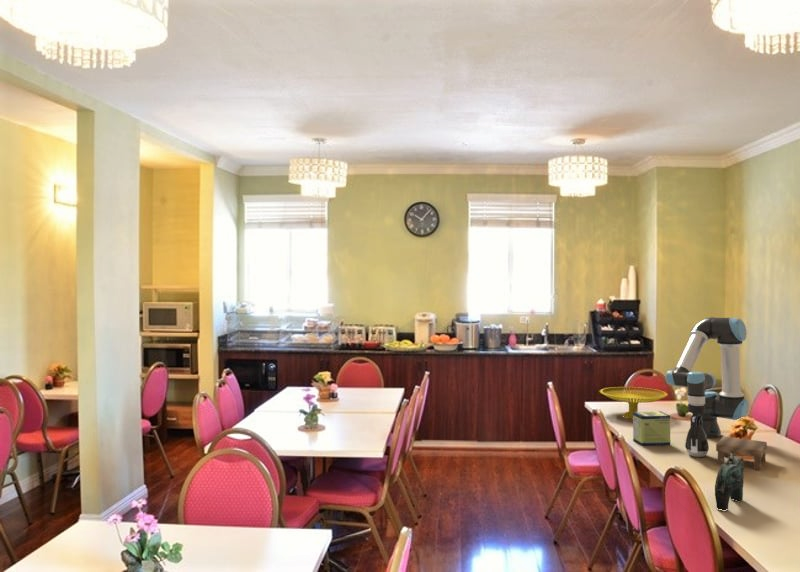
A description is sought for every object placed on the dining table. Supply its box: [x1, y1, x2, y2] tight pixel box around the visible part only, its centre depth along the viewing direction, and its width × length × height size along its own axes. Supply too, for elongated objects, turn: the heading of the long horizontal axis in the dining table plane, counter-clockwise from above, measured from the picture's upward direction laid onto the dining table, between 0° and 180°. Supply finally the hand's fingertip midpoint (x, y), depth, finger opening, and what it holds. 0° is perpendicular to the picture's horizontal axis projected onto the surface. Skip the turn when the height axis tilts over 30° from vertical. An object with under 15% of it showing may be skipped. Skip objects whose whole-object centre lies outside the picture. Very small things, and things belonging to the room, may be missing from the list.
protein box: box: [632, 410, 671, 447], centre depth 310 cm, size 10×16×16 cm
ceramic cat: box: [714, 451, 745, 510], centre depth 224 cm, size 20×6×20 cm, turn 131°
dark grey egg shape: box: [684, 425, 710, 458], centre depth 286 cm, size 10×10×15 cm
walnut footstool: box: [715, 435, 768, 472], centre depth 275 cm, size 18×18×9 cm
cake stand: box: [598, 386, 669, 419], centre depth 370 cm, size 40×40×15 cm
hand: (696, 449), depth 286 cm, fingers closed on dark grey egg shape, 10 cm apart
